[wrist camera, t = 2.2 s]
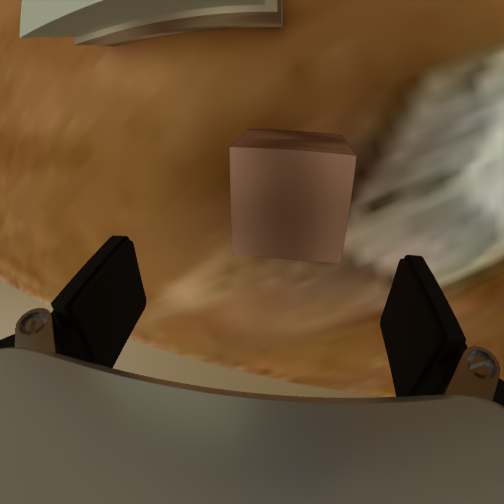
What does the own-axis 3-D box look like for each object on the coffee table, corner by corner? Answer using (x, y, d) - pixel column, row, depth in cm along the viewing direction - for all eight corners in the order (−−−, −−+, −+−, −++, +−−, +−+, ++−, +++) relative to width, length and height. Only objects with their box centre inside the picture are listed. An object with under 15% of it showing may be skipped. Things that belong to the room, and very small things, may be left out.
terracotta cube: (340, 135, 18) (356, 156, 13) (332, 217, 21) (340, 263, 16) (249, 128, 19) (229, 147, 14) (249, 210, 22) (232, 254, 17)
